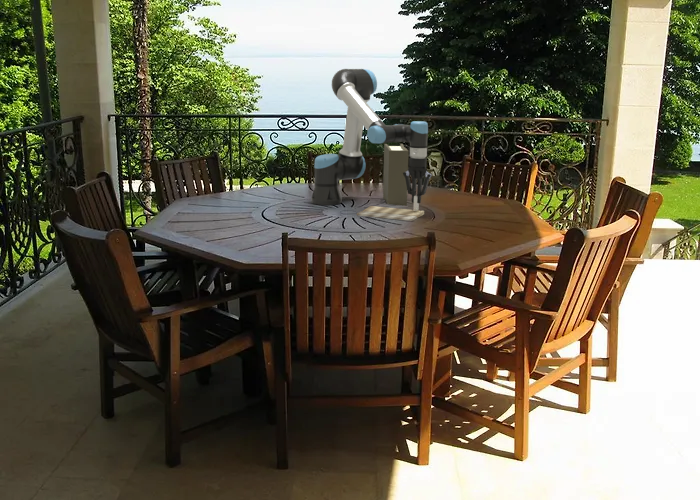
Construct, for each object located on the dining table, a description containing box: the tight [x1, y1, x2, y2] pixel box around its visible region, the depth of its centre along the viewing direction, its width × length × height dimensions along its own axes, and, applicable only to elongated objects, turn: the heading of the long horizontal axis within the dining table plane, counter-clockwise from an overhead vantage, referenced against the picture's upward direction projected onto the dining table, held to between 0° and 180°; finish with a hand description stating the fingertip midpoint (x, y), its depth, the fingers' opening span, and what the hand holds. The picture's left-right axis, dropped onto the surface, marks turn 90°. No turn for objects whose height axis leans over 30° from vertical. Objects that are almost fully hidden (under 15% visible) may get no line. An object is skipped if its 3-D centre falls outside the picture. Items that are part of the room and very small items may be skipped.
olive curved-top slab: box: [382, 143, 410, 207], centre depth 327 cm, size 22×9×28 cm, turn 3°
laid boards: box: [356, 210, 418, 222], centre depth 292 cm, size 26×6×2 cm, turn 65°
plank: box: [362, 205, 425, 219], centre depth 299 cm, size 26×9×2 cm, turn 65°
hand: (416, 210), depth 297 cm, fingers closed
